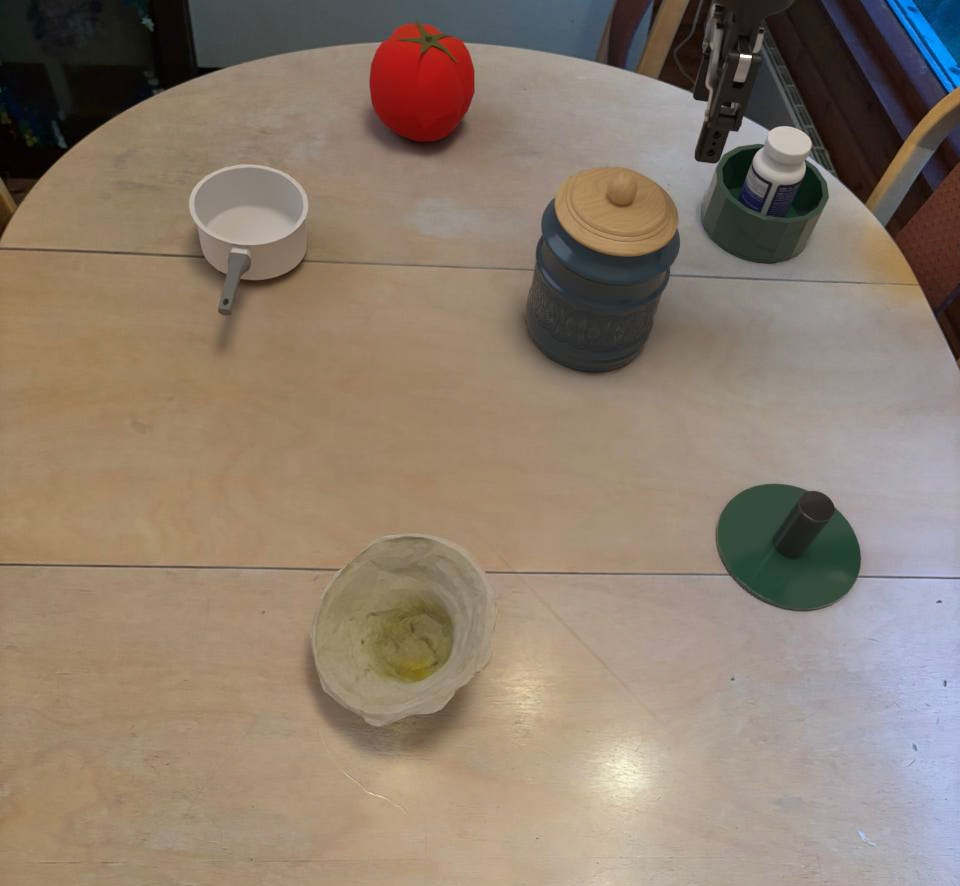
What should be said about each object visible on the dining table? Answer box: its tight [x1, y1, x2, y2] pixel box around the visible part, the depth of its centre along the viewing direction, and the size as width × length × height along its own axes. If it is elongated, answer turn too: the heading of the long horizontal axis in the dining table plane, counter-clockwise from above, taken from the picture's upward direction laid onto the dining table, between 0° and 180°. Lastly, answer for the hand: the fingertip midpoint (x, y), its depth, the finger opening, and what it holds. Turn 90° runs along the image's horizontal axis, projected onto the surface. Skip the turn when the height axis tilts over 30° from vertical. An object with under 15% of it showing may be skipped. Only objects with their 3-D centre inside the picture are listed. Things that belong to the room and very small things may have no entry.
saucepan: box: [188, 163, 309, 317], centre depth 93 cm, size 12×20×6 cm, turn 177°
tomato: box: [368, 18, 476, 142], centre depth 105 cm, size 12×12×10 cm
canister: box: [525, 166, 681, 372], centre depth 90 cm, size 13×13×18 cm
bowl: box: [308, 532, 498, 727], centre depth 74 cm, size 15×14×10 cm
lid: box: [715, 483, 862, 611], centre depth 84 cm, size 13×13×7 cm
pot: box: [701, 143, 830, 264], centre depth 105 cm, size 12×12×5 cm
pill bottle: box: [738, 125, 813, 218], centre depth 102 cm, size 6×6×10 cm
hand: (704, 128), depth 84 cm, fingers open, 8 cm apart
